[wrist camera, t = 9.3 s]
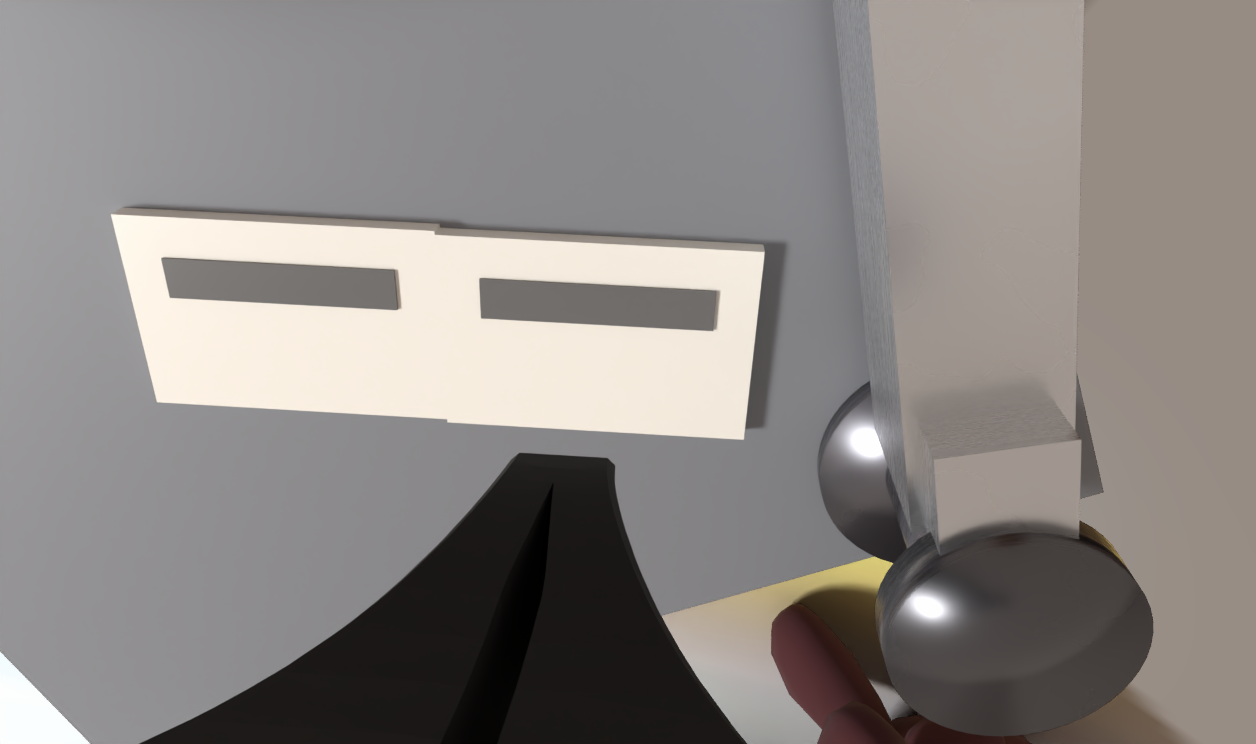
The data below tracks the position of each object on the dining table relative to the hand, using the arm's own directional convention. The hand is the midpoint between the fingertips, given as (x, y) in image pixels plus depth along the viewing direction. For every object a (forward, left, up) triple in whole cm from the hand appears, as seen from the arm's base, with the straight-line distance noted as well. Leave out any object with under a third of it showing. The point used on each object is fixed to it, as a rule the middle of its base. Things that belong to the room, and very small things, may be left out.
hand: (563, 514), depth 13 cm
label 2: (0, 0, -6) cm, 6 cm away
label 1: (-3, -5, -6) cm, 8 cm away
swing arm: (-2, +7, -5) cm, 9 cm away
